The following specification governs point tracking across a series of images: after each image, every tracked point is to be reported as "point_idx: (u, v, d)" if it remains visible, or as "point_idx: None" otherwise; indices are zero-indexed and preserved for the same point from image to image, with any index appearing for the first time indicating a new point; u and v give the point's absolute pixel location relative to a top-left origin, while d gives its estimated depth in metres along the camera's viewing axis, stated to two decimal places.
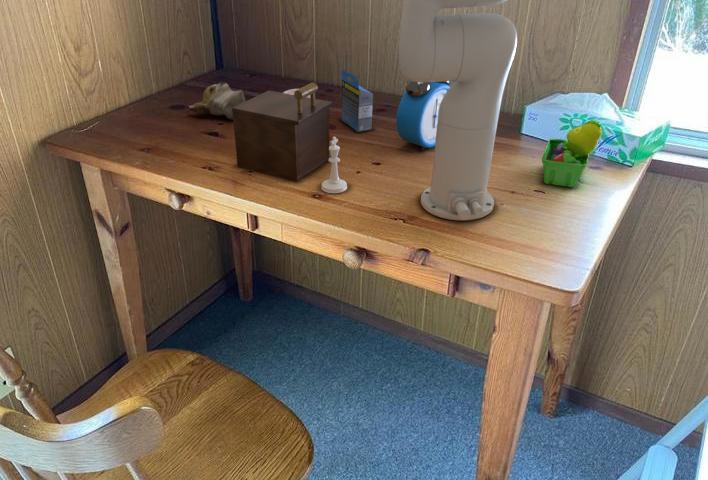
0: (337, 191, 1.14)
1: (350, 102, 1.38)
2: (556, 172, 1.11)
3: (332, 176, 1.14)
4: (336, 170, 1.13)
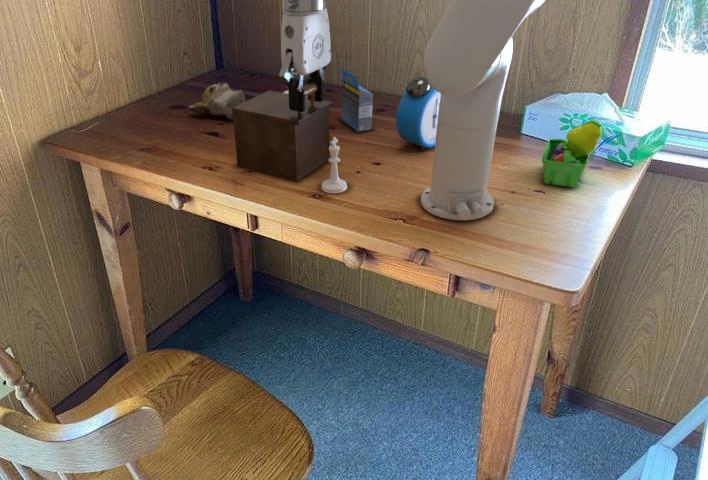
0: (337, 191, 1.14)
1: (350, 102, 1.38)
2: (556, 172, 1.11)
3: (332, 176, 1.14)
4: (336, 170, 1.13)
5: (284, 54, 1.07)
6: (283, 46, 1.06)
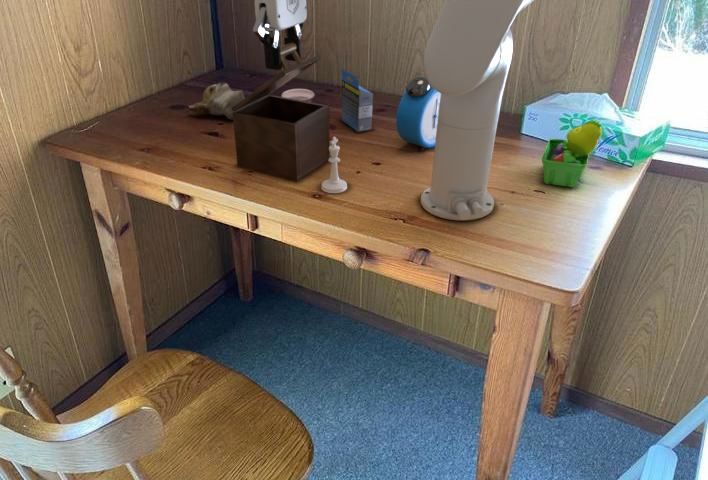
0: (337, 191, 1.14)
1: (350, 102, 1.38)
2: (556, 172, 1.11)
3: (332, 176, 1.14)
4: (336, 170, 1.13)
5: (258, 9, 1.05)
6: (256, 1, 1.05)
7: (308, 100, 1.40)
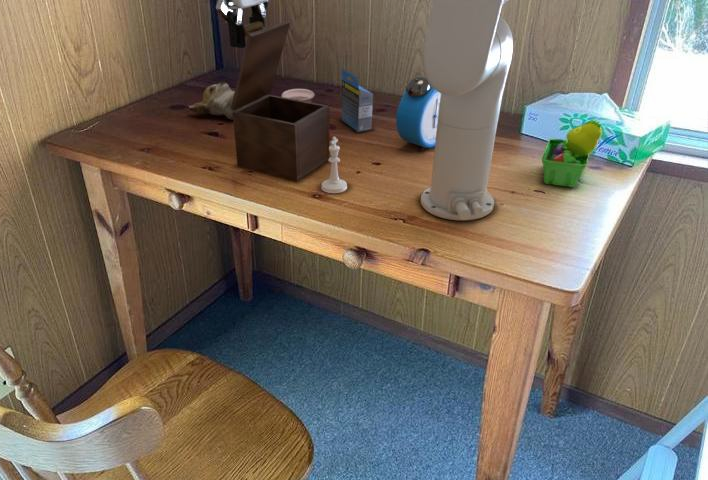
0: (337, 191, 1.14)
1: (350, 102, 1.38)
2: (556, 172, 1.11)
3: (332, 176, 1.14)
4: (336, 170, 1.13)
5: None
6: None
7: (308, 100, 1.40)
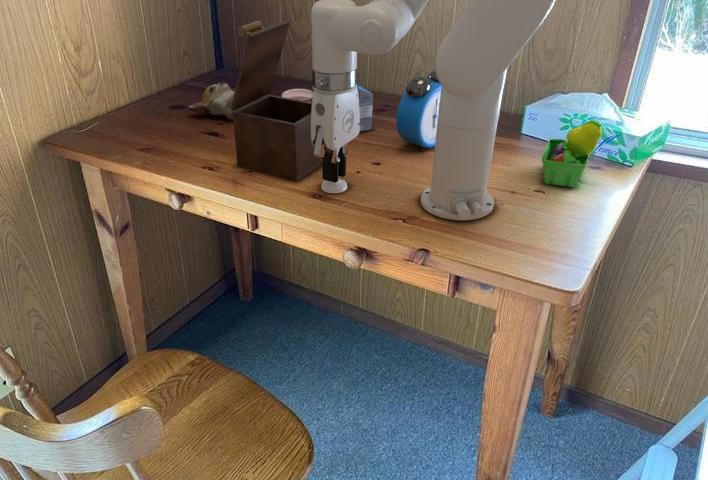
0: (337, 191, 1.14)
1: None
2: (556, 172, 1.11)
3: None
4: None
5: (314, 130, 1.06)
6: (313, 122, 1.05)
7: (308, 100, 1.40)
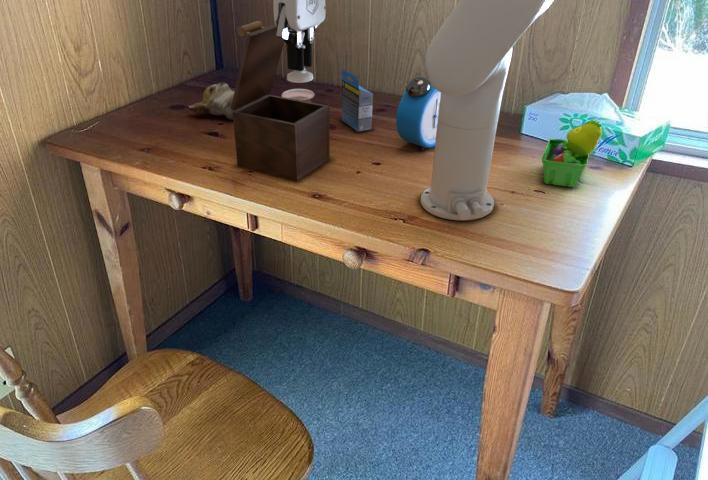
0: (303, 80, 1.10)
1: (350, 102, 1.38)
2: (556, 172, 1.11)
3: None
4: None
5: (277, 9, 1.02)
6: (275, 0, 1.02)
7: (308, 100, 1.40)
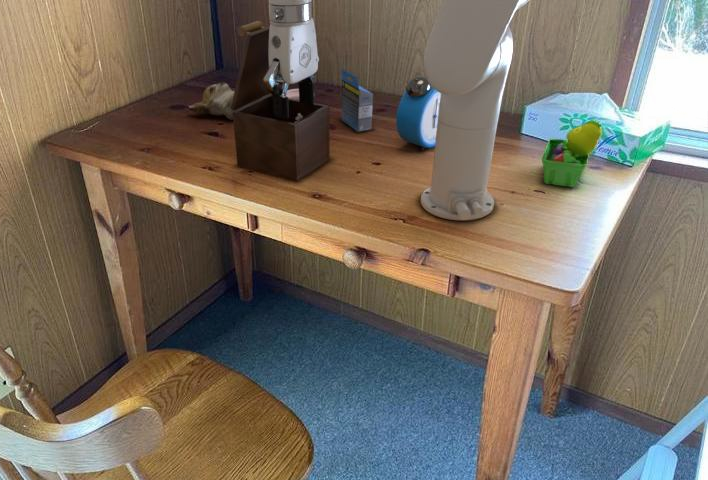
0: None
1: (350, 102, 1.38)
2: (556, 172, 1.11)
3: None
4: None
5: (271, 63, 1.09)
6: (270, 56, 1.09)
7: None
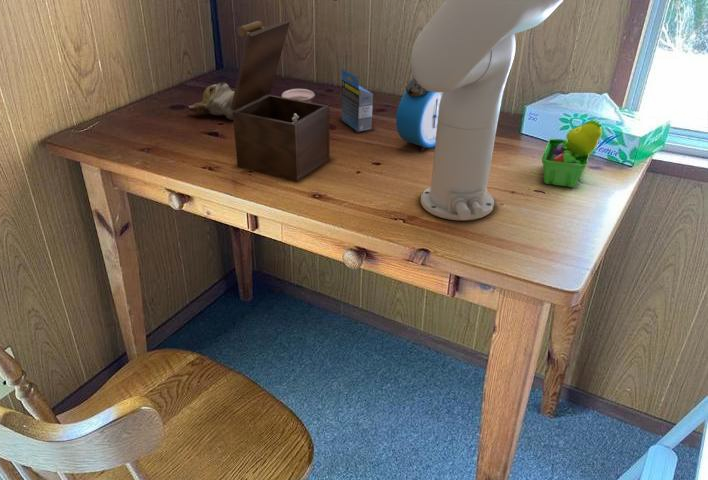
0: None
1: (350, 102, 1.38)
2: (556, 172, 1.11)
3: None
4: None
5: None
6: None
7: (308, 100, 1.40)
